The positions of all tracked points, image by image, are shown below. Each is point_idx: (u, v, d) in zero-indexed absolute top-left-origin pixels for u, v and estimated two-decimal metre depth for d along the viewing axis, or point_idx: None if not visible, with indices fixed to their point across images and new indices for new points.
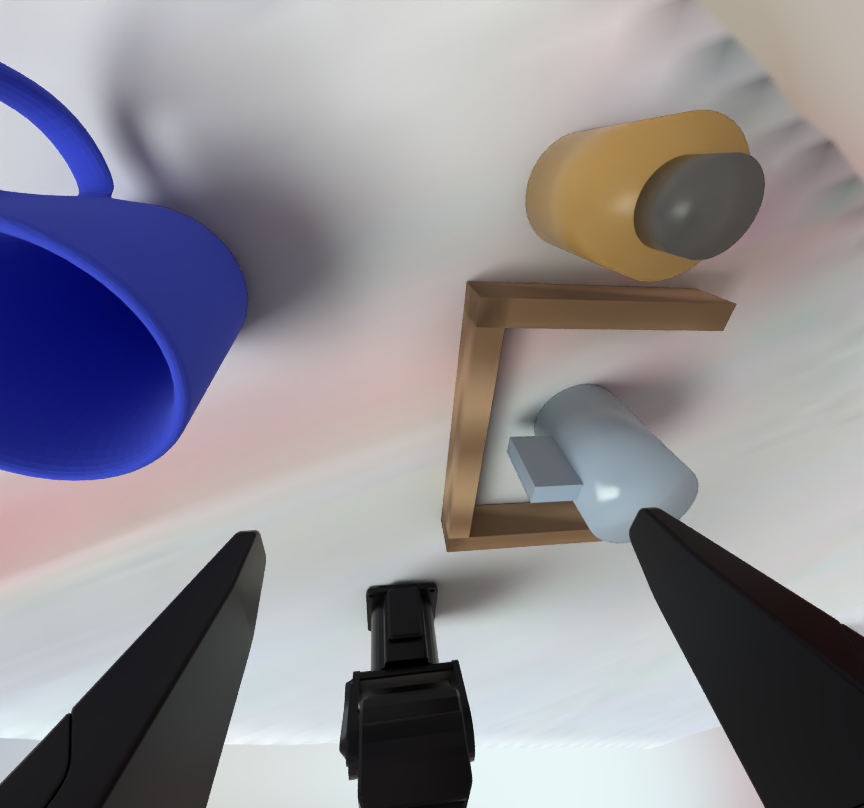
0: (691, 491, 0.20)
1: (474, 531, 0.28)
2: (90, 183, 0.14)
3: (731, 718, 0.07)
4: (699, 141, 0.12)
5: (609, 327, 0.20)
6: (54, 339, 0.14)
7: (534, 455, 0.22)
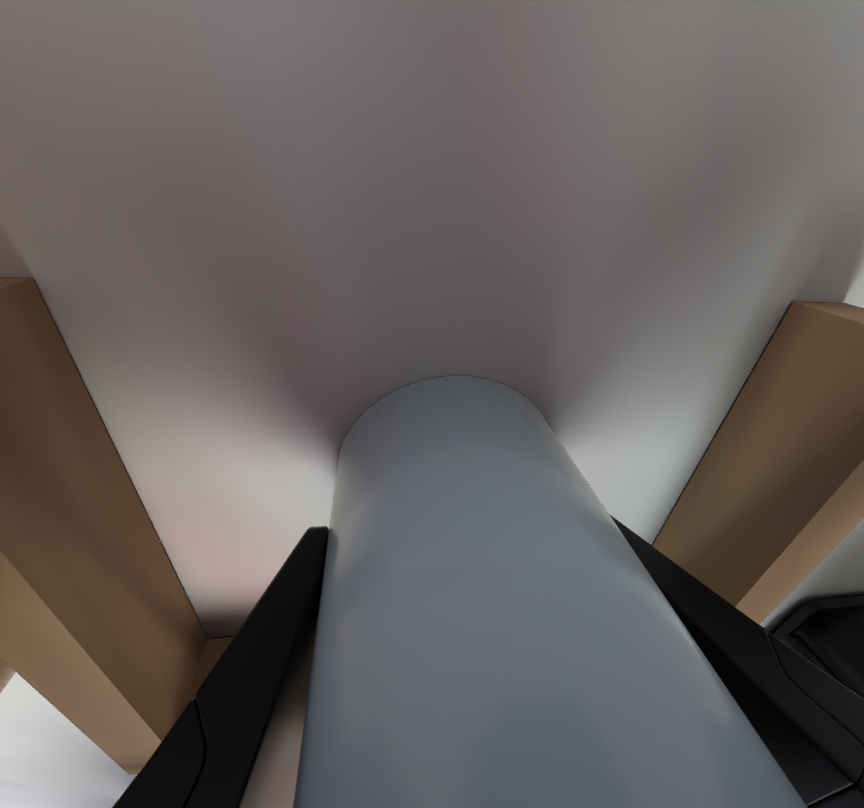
0: None
1: None
2: None
3: None
4: None
5: (78, 650, 0.08)
6: None
7: None
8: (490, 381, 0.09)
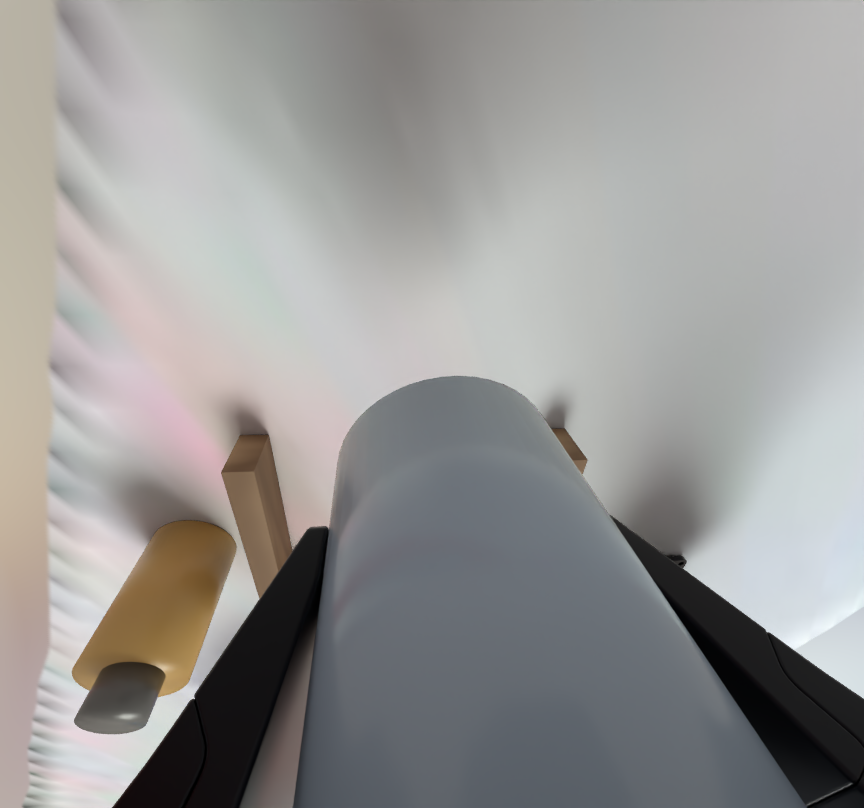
0: None
1: None
2: None
3: None
4: (93, 679, 0.18)
5: (273, 559, 0.22)
6: None
7: None
8: (490, 381, 0.09)
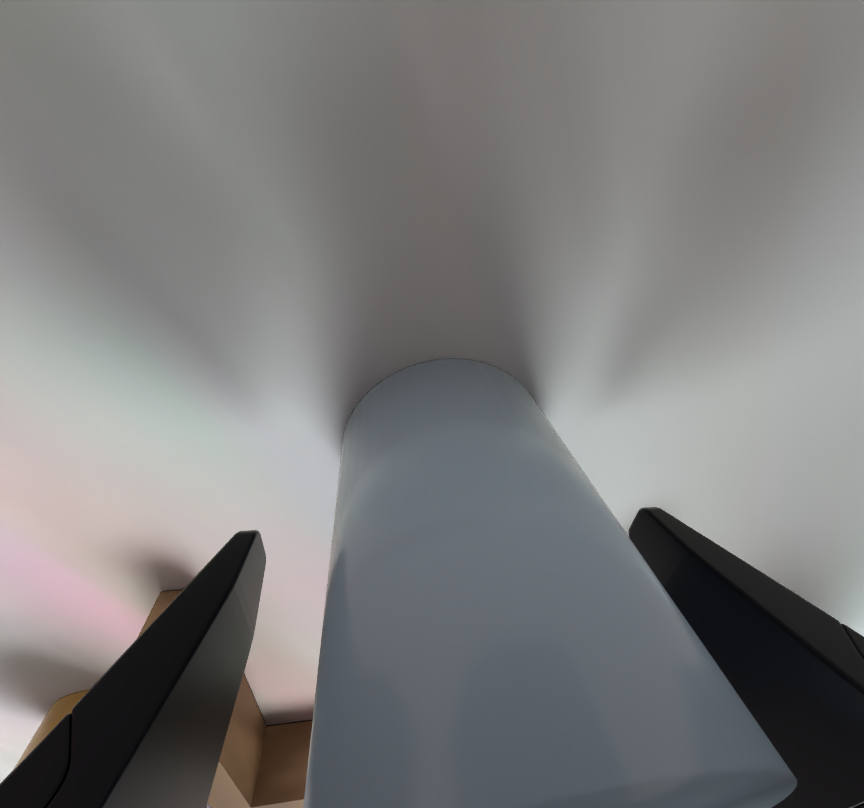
0: None
1: None
2: None
3: None
4: None
5: (219, 766, 0.14)
6: None
7: None
8: (483, 364, 0.10)
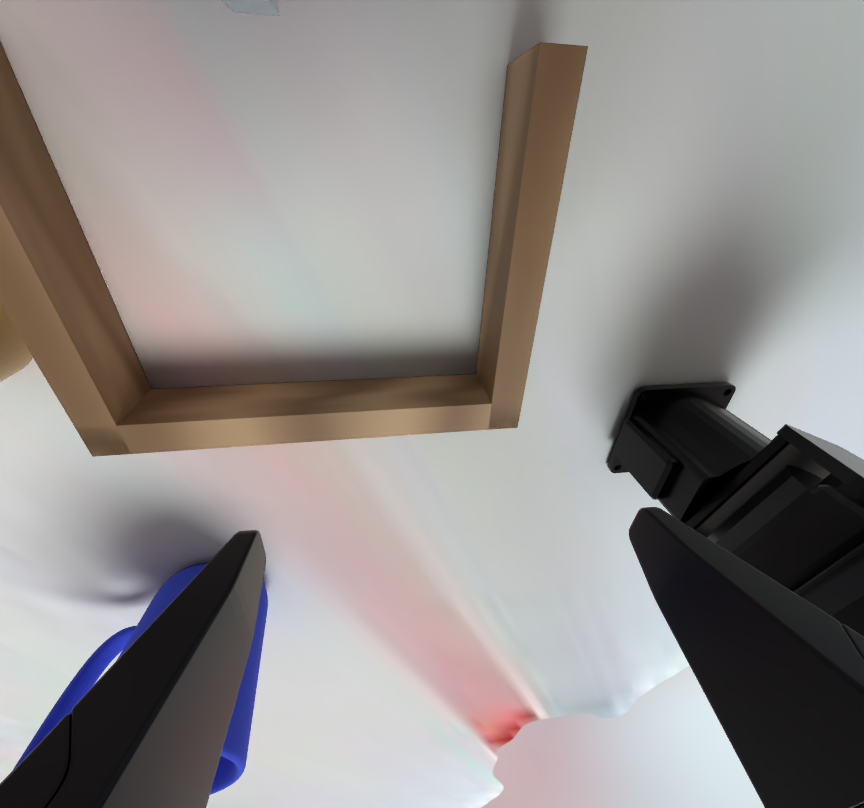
0: None
1: (489, 388, 0.18)
2: None
3: (731, 718, 0.07)
4: None
5: (39, 286, 0.12)
6: None
7: None
8: None
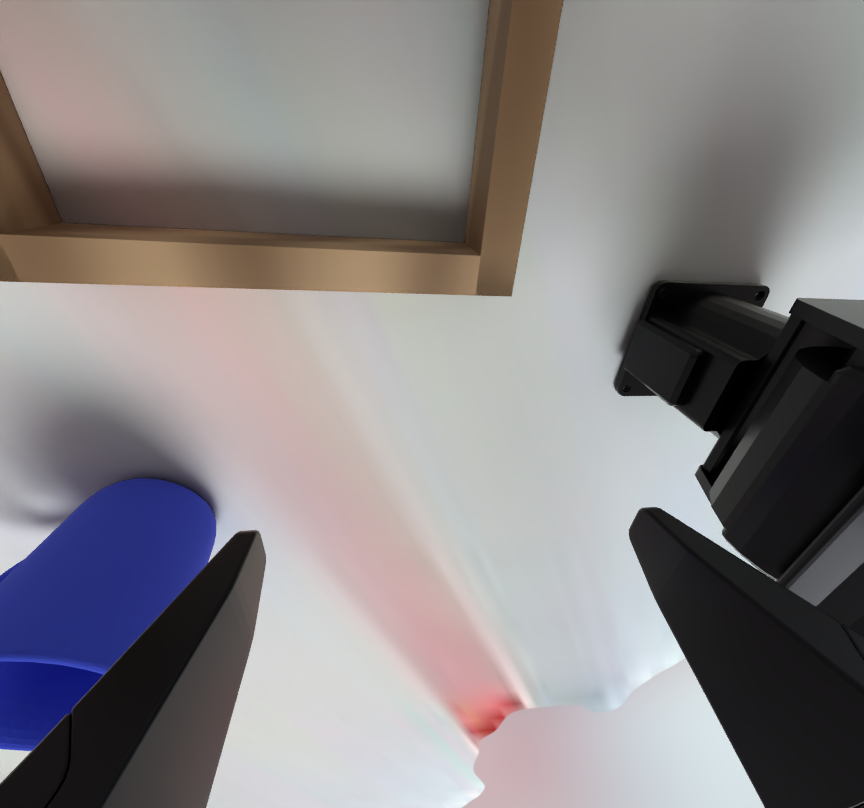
0: None
1: (479, 238, 0.14)
2: None
3: (731, 718, 0.07)
4: None
5: None
6: None
7: None
8: None
